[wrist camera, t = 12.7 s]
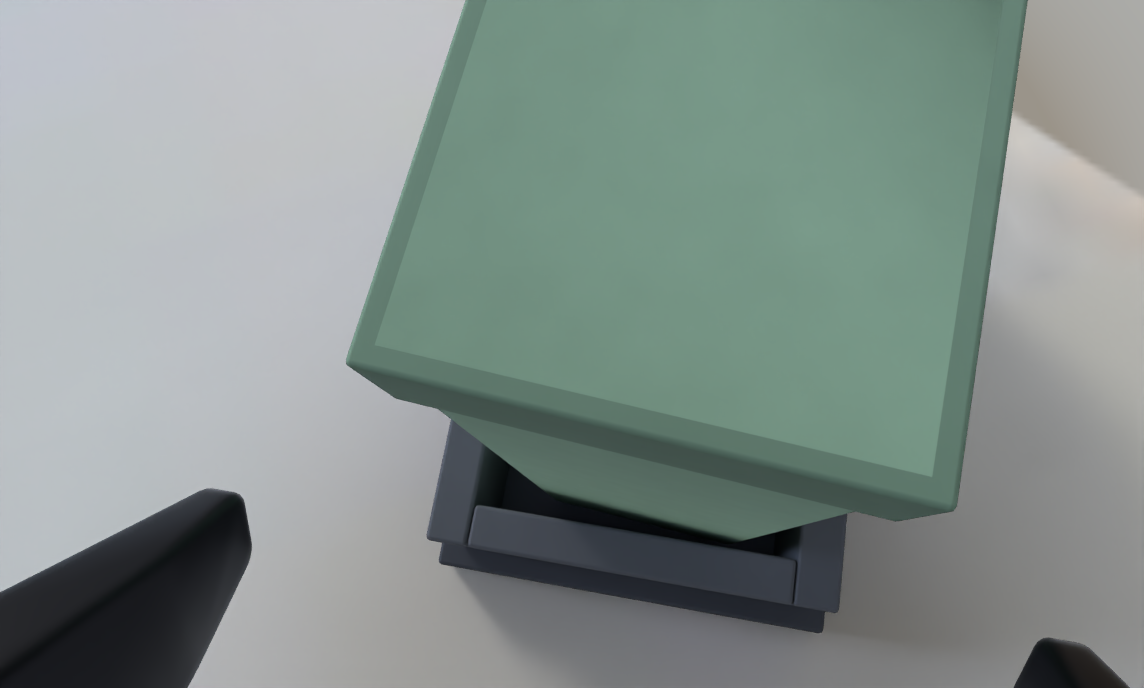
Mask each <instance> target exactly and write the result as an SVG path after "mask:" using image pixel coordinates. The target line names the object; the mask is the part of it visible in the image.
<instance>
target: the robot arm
mask: <svg viewBox="0 0 1144 688" xmlns="http://www.w3.org/2000/svg"><path fill="white" fill-rule="evenodd" d="M251 551H252V542H251V536H250V531H249V525H248V520H247V514H246V508H245V503H244V500H243V498H242V497H241V496H240V495H239V494H237V493H235V492H229V491H224V490H218V489H212V488H211V489H204V490H201V491H199V492H197V493H195V494H193V495H191V496H189V497H187V498H185V499H183V500H181V501H179V502H177V503H175V504H173V505H171V506H169V507H167V508H165V509H164V510H162V511H160V512H158V513H156V514H154V515H152V516H150V517H148V518H146V519H144V520H142V521H140V522H138V523H136V524H134V525H132V526H130V527H128V528H126V529H124V530H122V531H120V532H118V533H116V534H114V535H112V536H110V537H108V538H106V539H104V540H102V541H101V542H99V543H97V544H95V545H93V546H91V547H89V548H87V549H85V550H83V551H81V552H79V553H77V554H75V555H73V556H71V557H69V558H67V559H65V560H63V561H61V562H59V563H57V564H55V565H53V566H51V567H49V568H47V569H45V570H43V571H41V572H39V573H38V574H36V575H34V576H32V577H30V578H28V579H26V580H24V581H22V582H20V583H18V584H16V585H14V586H12V587H10V588H8V589H6V590H4V591H2V592H0V688H187V687H188V686H189V684H190V682H191V680H192V679H193V677H194V675H195V673H196V671H197V669H198V667H199V665H200V663H201V661H202V659H203V657H204V655H205V653H206V651H207V649H208V647H209V644H210V642H211V640H212V638H213V636H214V634H215V632H216V630H217V628H218V626H219V624H220V622H221V620H222V617H223V615H224V613H225V611H226V609H227V607H228V605H229V603H230V601H231V599H232V597H233V595H234V592H235V590H236V588H237V586H238V584H239V582H240V580H241V578H242V576H243V574H244V572H245V570H246V568H247V565H248V563H249V560H250V556H251ZM1014 688H1130V687H1129V686H1128V685H1127V684H1126V683H1125V682H1124V681H1123V680H1122V679H1121V678H1120V677H1119V676H1118V675H1117V674H1116V673H1115V672H1114V671H1113V670H1111V669H1110V668H1109V667H1108V666H1107V665H1106V664H1105V663H1104V662H1103V661H1102V660H1101V659H1100V658H1099V657H1098V656H1097V655H1096V654H1095V653H1094V652H1093V651H1092V650H1091V649H1089V648H1088V647H1087V646H1085V645H1083V644H1080V643H1076V642H1070V641H1065V640H1059V639H1054V638H1043V639H1041V640H1040V641H1038V642H1037V644H1036V645H1035V647H1034V648H1033V650H1032V652H1031V654H1030V656H1029V658H1028V660H1027V662H1026V664H1025V666H1024V668H1023V670H1022V672H1021V674H1020V676H1019V678H1018V680H1017V682H1016V684H1015V686H1014Z"/></svg>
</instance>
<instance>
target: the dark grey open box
mask: <svg viewBox="0 0 1144 688" xmlns="http://www.w3.org/2000/svg"><path fill="white" fill-rule="evenodd" d="M846 522H847V514H843V515H840V516H836V517H832V518H828V519H824V520H820V521H817V522H813V523H809V524H805V525H801V526H797V527H794V528H790V529H786V530H782V531H778V532H774V533H771V534H767V535H763V536H759V537H755V538H751V539H747V540H744V541H740V542H736V543H732V544H724V543H720V542H716V541H712V540H708V539H704V538H700V537H696V536H692V535H689V534H685V533H681V532H677V531H673V530H669V529H665V528H661V527H657V526H654V525H650V524H646V523H642V522H638V521H634V520H630V519H626V518H622V517H619V516H615V515H611V514H607V513H603V512H599V511H595V510H591V509H587V508H584V507H580V506H576V505H572V504H568V503H564V502H560V501H557V500H555V499H554V498H553V497H551V496H550V495H549V494H547V493H546V492H545V491H544V490H542V489H541V488H540V487H538V486H537V485H536V484H535V483H533V482H532V481H531V480H529V479H528V478H527V477H525V476H524V475H523V474H522V473H520V472H519V471H518V470H516V469H515V468H514V467H513V466H511V465H510V464H509V463H507V462H506V461H505V460H503V459H502V458H501V457H500V456H498V455H497V454H496V453H494V452H493V451H492V450H491V449H489V448H488V447H487V446H485V445H484V444H483V443H481V442H480V441H479V440H478V439H476V438H475V437H474V436H472V435H471V434H470V433H468V432H467V431H466V430H465V429H463V428H462V427H461V426H459V425H458V424H457V423H456V422H454V421H453V420H452V419H451V422H450V427H449V432H448V436H447V441H446V446H445V451H444V455H443V460H442V465H441V469H440V474H439V479H438V484H437V488H436V493H435V498H434V503H433V507H432V512H431V517H430V522H429V526H428V531H427V539H429V540H431V541H436V542H442V547H441V552H440V556H439V563H441V564H443V565H448V566H454V567H459V568H465V569H470V570H476V571H481V572H487V573H492V574H498V575H503V576H509V577H514V578H519V579H525V580H530V581H536V582H541V583H547V584H552V585H558V586H563V587H569V588H574V589H580V590H585V591H590V592H596V593H601V594H607V595H612V596H618V597H623V598H629V599H634V600H640V601H645V602H651V603H656V604H661V605H667V606H672V607H678V608H683V609H689V610H694V611H700V612H705V613H711V614H716V615H722V616H727V617H732V618H738V619H743V620H749V621H754V622H760V623H765V624H771V625H776V626H782V627H787V628H793V629H798V630H803V631H809V632H814V633H822V631H823V626H824V615H825V611H826V612H831V613H837V612H838V610H839V603H840V591H841V580H842V568H843V557H844V545H845V533H846Z"/></svg>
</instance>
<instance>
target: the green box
mask: <svg viewBox="0 0 1144 688" xmlns="http://www.w3.org/2000/svg"><path fill="white" fill-rule="evenodd" d="M1027 1H1028V0H466V1H465V4H464V7H463V10H462V13H461V16H460V19H459V22H458V25H457V28H456V31H455V34H454V37H453V40H452V43H451V46H450V49H449V52H448V55H447V58H446V61H445V64H444V67H443V70H442V73H441V76H440V79H439V82H438V85H437V88H436V91H435V94H434V97H433V100H432V103H431V106H430V109H429V112H428V115H427V118H426V121H425V124H424V127H423V130H422V133H421V136H420V139H419V142H418V145H417V148H416V151H415V154H414V157H413V160H412V163H411V166H410V169H409V172H408V175H407V178H406V181H405V184H404V187H403V190H402V193H401V196H400V199H399V202H398V205H397V208H396V211H395V214H394V217H393V220H392V223H391V226H390V229H389V232H388V235H387V238H386V241H385V244H384V247H383V250H382V253H381V256H380V259H379V262H378V265H377V268H376V271H375V274H374V277H373V280H372V283H371V286H370V289H369V292H368V295H367V298H366V301H365V304H364V307H363V310H362V313H361V316H360V319H359V322H358V325H357V328H356V331H355V334H354V337H353V340H352V343H351V346H350V349H349V352H348V355H347V358H346V364H347V365H348V366H349V367H350V368H352V369H353V370H355V371H356V372H358V373H359V374H361V375H362V376H364V377H365V378H367V379H368V380H369V381H371V382H372V383H374V384H375V385H377V386H378V387H380V388H381V389H383V390H384V391H386V392H387V393H389V394H390V395H391V396H393V397H394V398H396V399H400V400H404V401H408V402H412V403H416V404H420V405H424V406H429V407H433V408H437V409H439V410H440V411H441V412H443V413H444V414H445V415H446V416H448V417H449V418H450V419H452V420H453V421H454V422H456V423H457V424H458V425H459V426H461V427H462V428H463V429H465V430H466V431H467V432H468V433H470V434H471V435H472V436H474V437H475V438H476V439H478V440H479V441H480V442H481V443H483V444H484V445H485V446H487V447H488V448H489V449H491V450H492V451H493V452H494V453H496V454H497V455H498V456H500V457H501V458H502V459H503V460H505V461H506V462H507V463H509V464H510V465H511V466H513V467H514V468H515V469H516V470H518V471H519V472H520V473H522V474H523V475H524V476H525V477H527V478H528V479H529V480H531V481H532V482H533V483H535V484H536V485H537V486H538V487H540V488H541V489H542V490H544V491H545V492H546V493H547V494H549V495H550V496H551V497H553V498H554V499H555V500H557V501H560V502H564V503H568V504H572V505H576V506H580V507H584V508H587V509H591V510H595V511H599V512H603V513H607V514H611V515H615V516H619V517H622V518H626V519H630V520H634V521H638V522H642V523H646V524H650V525H654V526H657V527H661V528H665V529H669V530H673V531H677V532H681V533H685V534H689V535H692V536H696V537H700V538H704V539H708V540H712V541H716V542H720V543H724V544H732V543H736V542H740V541H744V540H747V539H751V538H755V537H759V536H763V535H767V534H771V533H774V532H778V531H782V530H786V529H790V528H794V527H797V526H801V525H805V524H809V523H813V522H817V521H820V520H824V519H828V518H832V517H836V516H840V515H843V514H847V513H851V512H855V511H856V512H860V513H864V514H868V515H872V516H876V517H880V518H884V519H888V520H892V521H901V520H907V519H913V518H918V517H924V516H929V515H935V514H941V513H946V512H952V511H954V510H955V508H956V507H957V501H958V494H959V487H960V480H961V472H962V465H963V458H964V451H965V444H966V437H967V430H968V422H969V415H970V408H971V401H972V394H973V387H974V380H975V373H976V365H977V358H978V351H979V344H980V337H981V330H982V323H983V315H984V308H985V301H986V294H987V287H988V280H989V273H990V265H991V258H992V251H993V244H994V237H995V230H996V223H997V215H998V208H999V201H1000V194H1001V187H1002V180H1003V173H1004V166H1005V158H1006V151H1007V144H1008V137H1009V130H1010V123H1011V116H1012V108H1013V101H1014V94H1015V87H1016V80H1017V73H1018V66H1019V58H1020V50H1021V44H1022V37H1023V30H1024V23H1025V15H1026V8H1027Z"/></svg>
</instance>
